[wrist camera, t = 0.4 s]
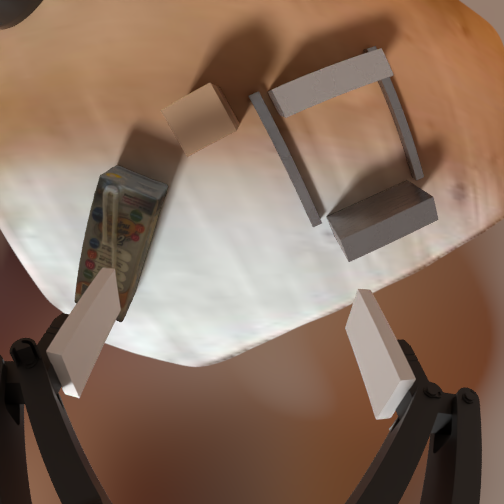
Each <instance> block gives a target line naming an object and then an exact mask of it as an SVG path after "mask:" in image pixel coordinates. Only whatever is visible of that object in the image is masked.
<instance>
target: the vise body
mask: <svg viewBox="0 0 504 504" xmlns="http://www.w3.org/2000/svg"><path fill="white" fill-rule="evenodd" d="M374 50H377V48H376V46H374V47H371V48H368V49H365V50H364V52H365V53H368V52H371V51H374ZM378 83H379V85H380V87H381V90H382V92H383V94H384V97H385V99H386V102H387V104H388V107H389V109H390V112H391V115H392V117H393V120H394V123H395V125H396V128H397V131H398V134H399V137H400V140H401V143H402V146H403V149H404V152H405V155H406V158H407V161H408V164H409V168H410V171H411V174H412V178H414V179H415V180H418V179H421V178H423V177H424V175H423V171H422V168H421V164H420V161H419V158H418V154H417V151H416V148H415V145H414V141H413V138H412V135H411V132H410V129H409V126H408V124H407V121H406V118H405V115H404V112H403V110H402V107H401V104H400V102H399V99H398V97H397V94H396V91H395V89H394V87H393V84H392V82H391V79H390V77H387V78H384V79H381V80H379V81H378ZM249 98H250V100H251V101H252V103H253V105H254V107H255V109H256V111H257V113H258V115H259V117H260V119H261V120H262V122H263V124H264V126H265V128H266V130H267V132H268V134H269V136H270V138H271V140H272V142H273V144H274V146H275V148H276V150H277V152H278V154H279V156H280V158H281V160H282V162H283V164H284V166H285V168H286V170H287V172H288V174H289V176H290V179H291V181H292V183H293V185H294V187H295V189H296V191H297V193H298V195H299V198H300V200H301V202H302V204H303V206H304V208H305V210H306V213H307V215H308V217H309V219H310V221H311V224H312V226H313V227H315V226H317V225H319V224H321V223H322V222H321V220H320V218H319V215H318V213H317V211H316V208H315V206H314V204H313V202H312V199H311V197H310V195H309V193H308V191H307V188H306V186H305V184H304V182H303V180H302V178H301V175H300V173H299V171H298V169H297V167H296V165H295V163H294V161H293V159H292V156H291V154H290V152H289V150H288V148H287V146H286V144H285V142H284V140H283V138H282V136H281V134H280V132H279V130H278V128H277V126H276V124H275V122H274V120H273V118H272V116H271V114H270V112H269V110H268V108H267V106H266V105H265V103H264V101H263V99H262V97H261V95H260V93H259V91H258V92H256V93H254V94H252V95H249ZM327 219H328V222H329V224H330V227H331V229H332V231H333V234H334V236H335V238H336V240H337V241H338V243H339V245H340V247H341V249H342V250H343V252H344V254H345V256H346V258H347V259H348V261H349V262H350V261H352V260H355V259H357V258H359V257H361V256H363V255H365V254H368V253H370V252H372V251H374V250H376V249H378V248H381V247H383V246H385V245H387V244H389V243H391V242H393V241H395V240H397V239H400V238H402V237H404V236H406V235H408V234H410V233H412V232H414V231H416V230H418V229H420V228H422V227H424V226H426V225H428V224H430V223H432V222H434V221H436V220H438V216H437V211H436V207H435V202H434V198H433V196H431V195H430V194H428V193H427V192H425V191H423V190H422V189H420V188H419V187H417V186H415V185H414V184H412V183H411V182H409V181H404V182H402V183H400V184H398V185H396V186H393V187H391V188H389V189H387V190H385V191H382V192H380V193H378V194H376V195H374V196H371V197H369V198H367V199H365V200H362V201H360V202H358V203H356V204H354V205H351V206H349V207H347V208H345V209H343V210H340V211H338V212H336V213H334V214H332V215H329V216H327Z"/></svg>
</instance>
